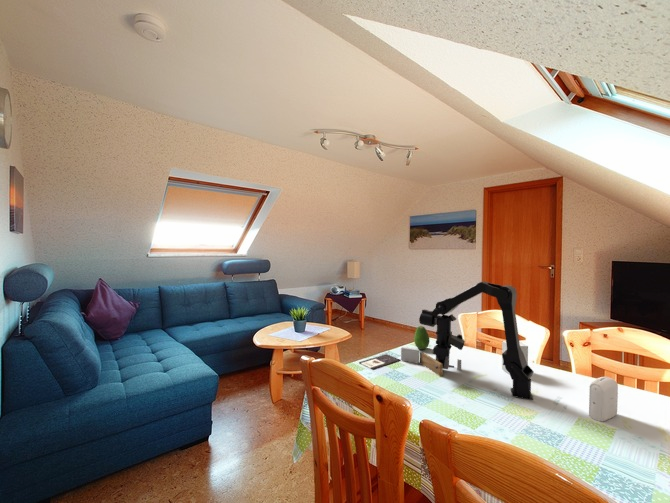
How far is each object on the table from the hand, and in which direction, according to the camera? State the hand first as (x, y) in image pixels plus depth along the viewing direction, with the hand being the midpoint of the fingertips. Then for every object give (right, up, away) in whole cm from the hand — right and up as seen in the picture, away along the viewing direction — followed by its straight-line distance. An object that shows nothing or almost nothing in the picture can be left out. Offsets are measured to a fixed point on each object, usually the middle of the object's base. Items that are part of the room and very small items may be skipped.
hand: (442, 364), depth 133 cm
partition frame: (-3, -3, +7) cm, 8 cm away
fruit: (-1, -2, +28) cm, 28 cm away
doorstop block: (0, -1, 0) cm, 1 cm away
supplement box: (+31, -3, -1) cm, 31 cm away
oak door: (-5, -3, +2) cm, 6 cm away
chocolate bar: (-26, -3, +10) cm, 28 cm away
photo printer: (+40, -4, -35) cm, 53 cm away
